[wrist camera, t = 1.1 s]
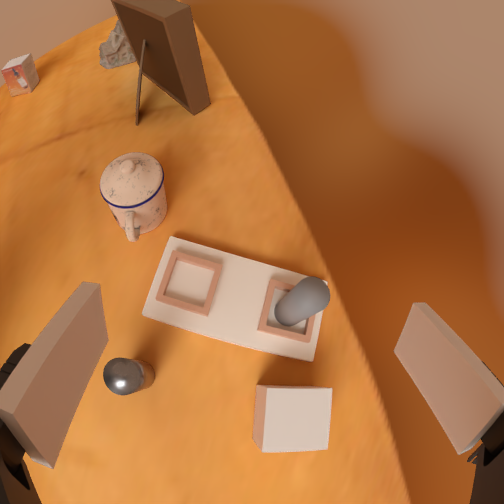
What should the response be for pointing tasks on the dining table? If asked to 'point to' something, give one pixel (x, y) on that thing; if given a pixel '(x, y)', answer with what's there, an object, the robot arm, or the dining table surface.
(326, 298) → the pegboard
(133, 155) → the teacup with lid
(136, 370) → the peg
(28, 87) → the small box
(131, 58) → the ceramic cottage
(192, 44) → the photo frame
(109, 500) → the dining table surface
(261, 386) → the block
